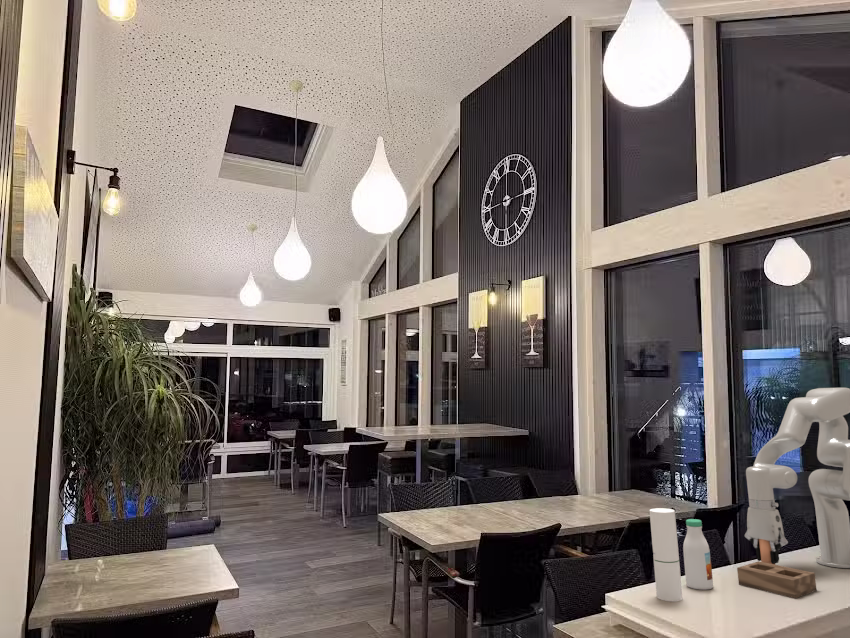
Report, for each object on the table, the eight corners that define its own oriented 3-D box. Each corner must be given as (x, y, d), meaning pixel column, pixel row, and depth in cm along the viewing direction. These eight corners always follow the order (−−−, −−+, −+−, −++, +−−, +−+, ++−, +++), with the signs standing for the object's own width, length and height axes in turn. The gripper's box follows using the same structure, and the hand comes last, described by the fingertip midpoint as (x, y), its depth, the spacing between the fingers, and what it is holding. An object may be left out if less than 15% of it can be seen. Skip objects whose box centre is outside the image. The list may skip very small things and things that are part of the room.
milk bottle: (702, 591, 182) (695, 523, 185) (680, 585, 189) (675, 519, 192) (718, 587, 186) (712, 520, 188) (697, 581, 192) (691, 516, 195)
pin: (766, 570, 201) (762, 533, 203) (778, 573, 198) (774, 535, 200) (759, 572, 199) (755, 535, 201) (772, 575, 196) (767, 537, 197)
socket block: (760, 577, 194) (758, 561, 195) (816, 590, 180) (814, 572, 180) (738, 584, 188) (737, 567, 189) (795, 598, 173) (793, 580, 174)
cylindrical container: (678, 593, 181) (670, 508, 185) (685, 601, 174) (677, 512, 178) (653, 593, 182) (646, 508, 185) (660, 601, 175) (653, 512, 178)
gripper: (793, 506, 196) (800, 565, 194) (744, 500, 211) (749, 554, 208) (781, 509, 193) (787, 569, 190) (731, 502, 207) (737, 558, 204)
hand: (768, 560), depth 199 cm, fingers closed on pin, 4 cm apart
